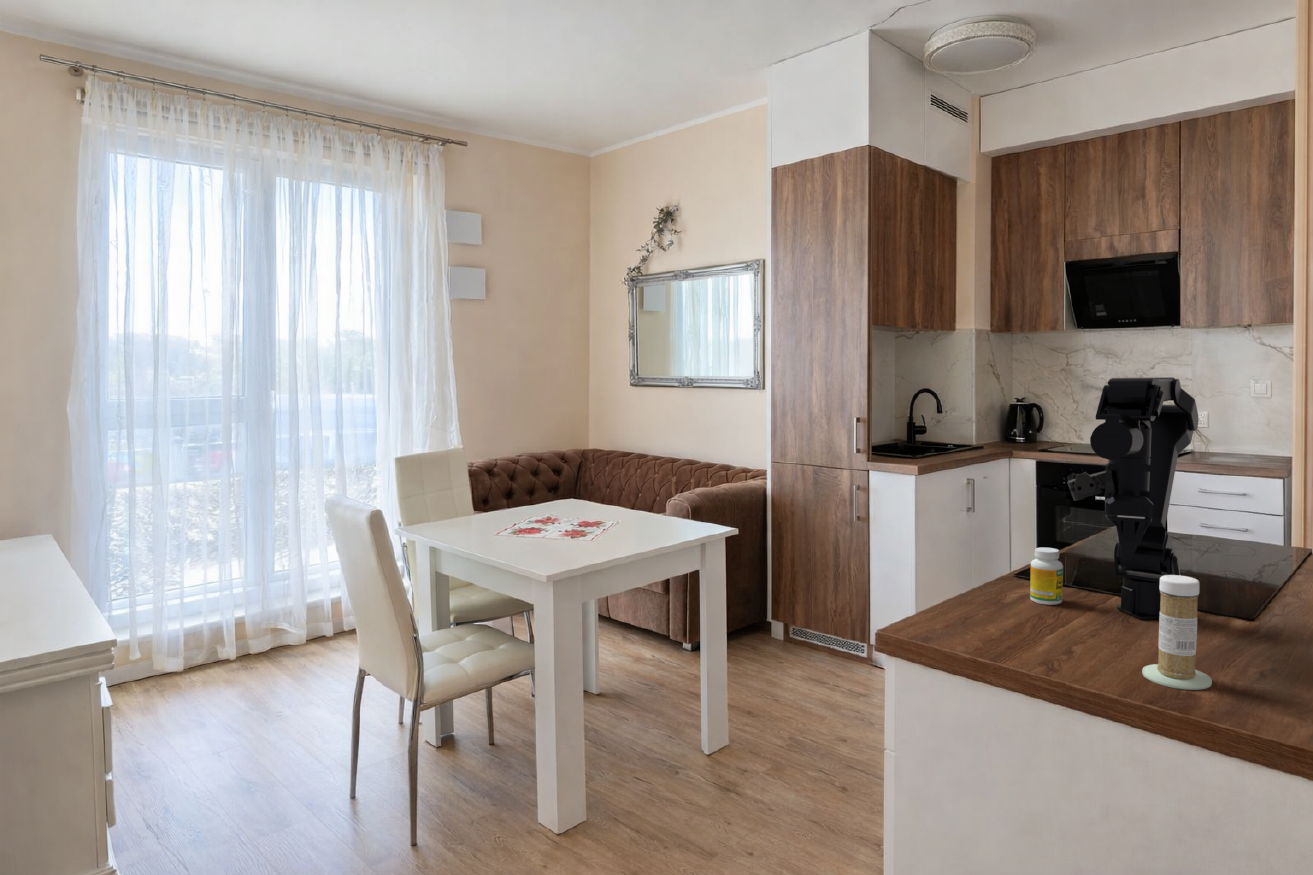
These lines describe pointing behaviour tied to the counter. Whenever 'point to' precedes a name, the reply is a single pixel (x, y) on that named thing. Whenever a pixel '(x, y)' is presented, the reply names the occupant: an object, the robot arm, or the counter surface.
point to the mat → (1189, 684)
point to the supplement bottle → (1046, 577)
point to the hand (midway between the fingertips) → (1125, 554)
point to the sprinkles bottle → (1178, 626)
